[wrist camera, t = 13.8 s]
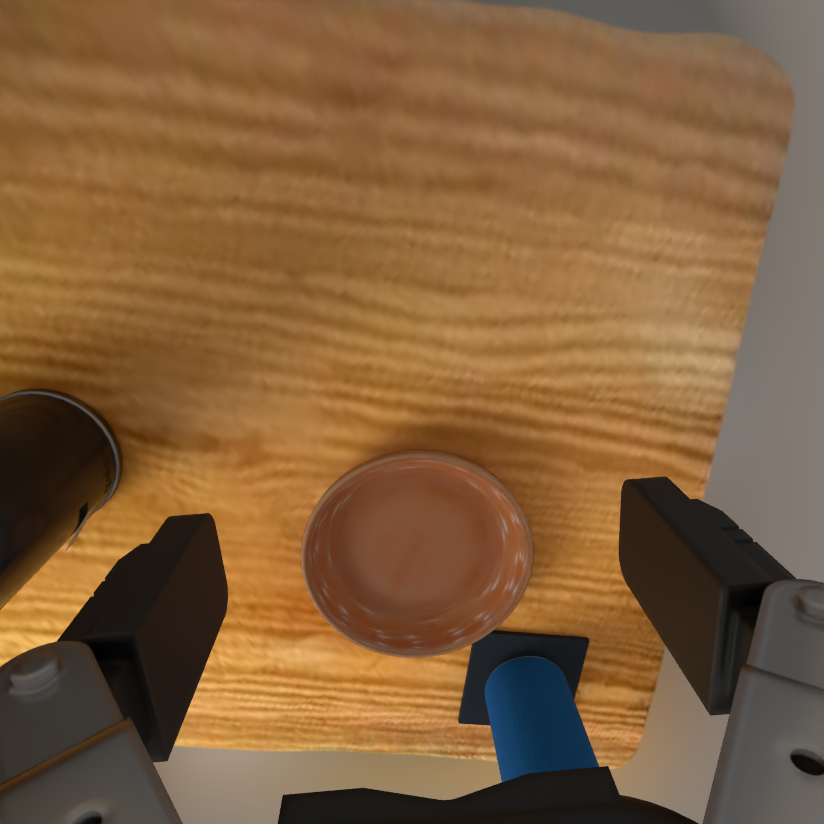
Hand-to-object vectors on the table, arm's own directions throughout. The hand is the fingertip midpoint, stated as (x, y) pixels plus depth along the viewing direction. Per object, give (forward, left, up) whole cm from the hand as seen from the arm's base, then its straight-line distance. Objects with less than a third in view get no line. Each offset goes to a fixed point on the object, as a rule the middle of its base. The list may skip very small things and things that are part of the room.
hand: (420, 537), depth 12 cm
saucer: (0, -17, -28) cm, 33 cm away
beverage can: (+8, -30, -28) cm, 42 cm away
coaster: (+8, -30, -28) cm, 42 cm away
